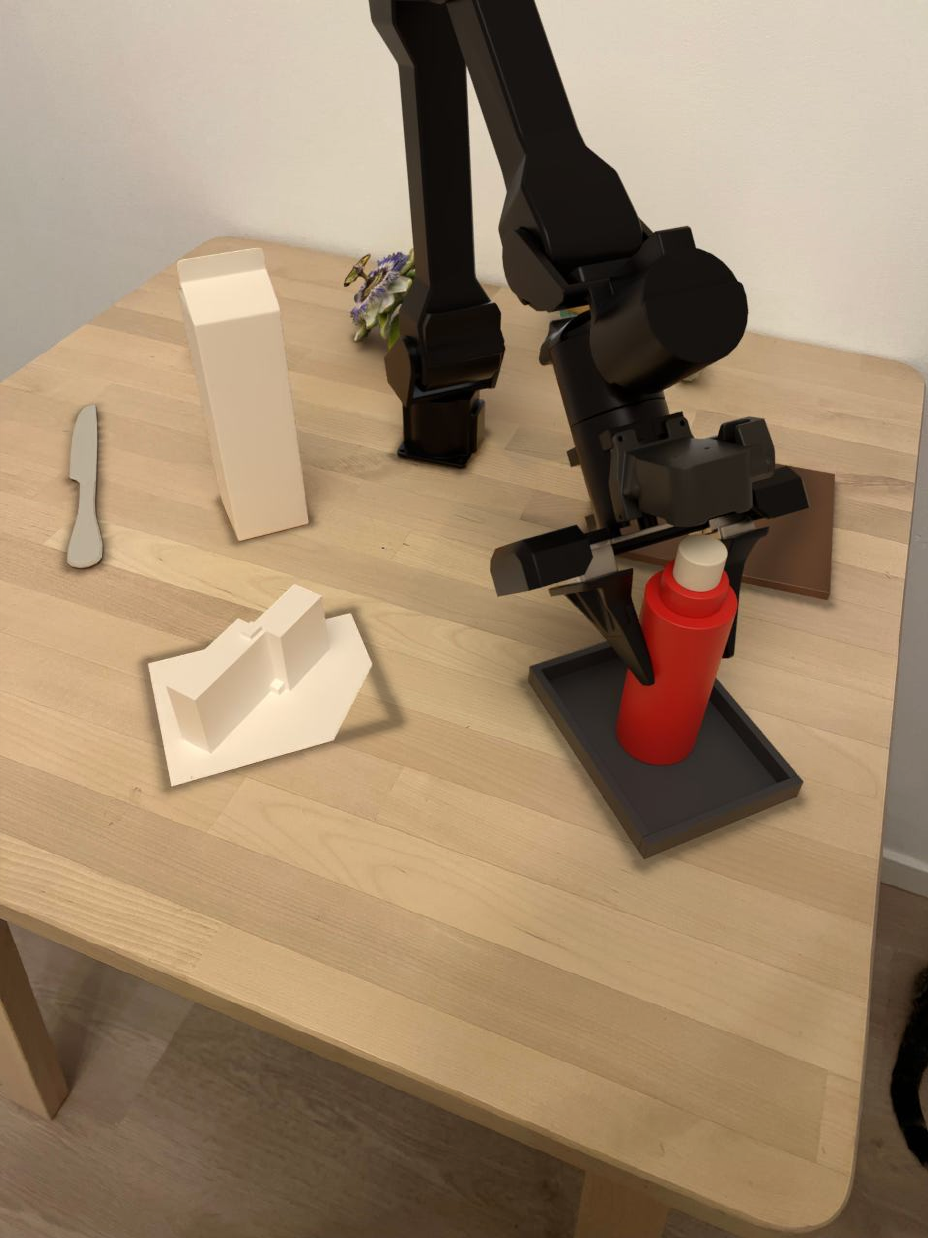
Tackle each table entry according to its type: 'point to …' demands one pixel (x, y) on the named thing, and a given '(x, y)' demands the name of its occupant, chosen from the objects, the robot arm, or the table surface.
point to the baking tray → (662, 794)
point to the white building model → (259, 688)
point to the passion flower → (381, 294)
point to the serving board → (777, 544)
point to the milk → (244, 389)
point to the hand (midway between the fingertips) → (688, 671)
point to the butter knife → (85, 491)
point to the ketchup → (678, 652)
